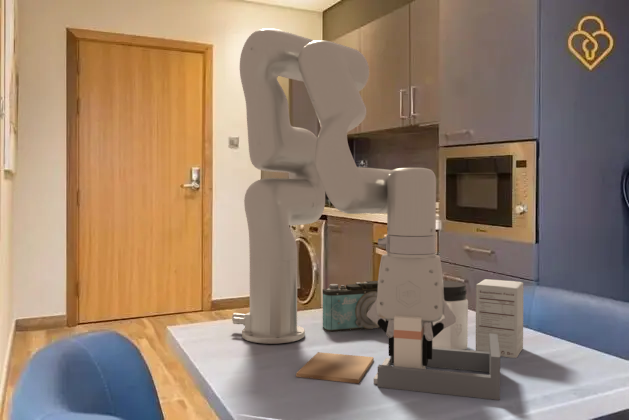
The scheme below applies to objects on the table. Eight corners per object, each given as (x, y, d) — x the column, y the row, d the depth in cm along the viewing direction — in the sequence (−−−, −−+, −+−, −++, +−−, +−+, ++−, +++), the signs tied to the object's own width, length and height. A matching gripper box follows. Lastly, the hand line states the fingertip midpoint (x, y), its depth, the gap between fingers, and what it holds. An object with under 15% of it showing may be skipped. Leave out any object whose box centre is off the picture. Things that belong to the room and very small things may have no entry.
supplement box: (483, 343, 105) (484, 278, 104) (524, 348, 101) (525, 281, 101) (474, 352, 98) (474, 283, 98) (516, 359, 95) (517, 287, 94)
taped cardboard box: (393, 382, 82) (393, 317, 82) (400, 366, 90) (401, 307, 90) (420, 385, 81) (421, 319, 81) (425, 369, 89) (426, 308, 89)
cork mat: (296, 376, 85) (296, 373, 85) (318, 355, 96) (318, 352, 96) (358, 383, 82) (358, 379, 82) (373, 360, 93) (373, 357, 93)
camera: (336, 340, 107) (336, 290, 107) (320, 329, 116) (320, 282, 116) (410, 333, 112) (411, 285, 112) (390, 323, 121) (390, 279, 121)
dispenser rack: (372, 386, 81) (372, 346, 80) (386, 360, 93) (387, 326, 93) (499, 400, 75) (500, 357, 75) (496, 370, 88) (497, 334, 88)
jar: (443, 355, 97) (443, 289, 96) (411, 344, 103) (412, 282, 103) (476, 347, 102) (477, 284, 101) (444, 338, 108) (444, 279, 108)
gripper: (353, 247, 84) (353, 364, 84) (465, 250, 79) (464, 374, 79) (363, 243, 91) (363, 351, 92) (466, 246, 86) (465, 360, 87)
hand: (410, 361), depth 85 cm, fingers closed on taped cardboard box, 4 cm apart
